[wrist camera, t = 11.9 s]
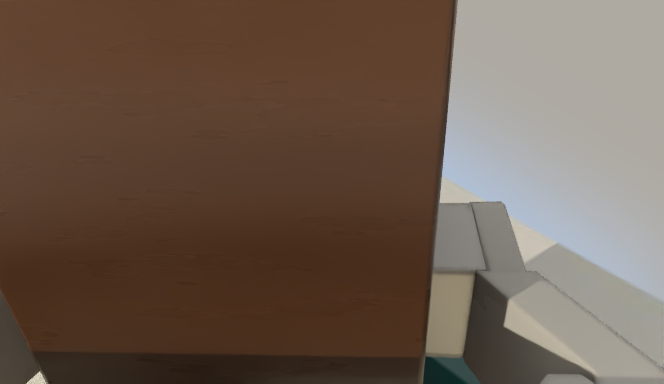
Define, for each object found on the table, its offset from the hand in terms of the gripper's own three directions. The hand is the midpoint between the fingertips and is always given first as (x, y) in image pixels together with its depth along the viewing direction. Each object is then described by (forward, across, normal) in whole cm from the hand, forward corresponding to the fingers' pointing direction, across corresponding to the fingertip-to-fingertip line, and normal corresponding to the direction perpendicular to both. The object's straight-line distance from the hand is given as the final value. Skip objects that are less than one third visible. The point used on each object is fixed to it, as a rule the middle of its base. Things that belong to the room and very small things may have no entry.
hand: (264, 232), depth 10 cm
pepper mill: (-1, 0, +9) cm, 9 cm away
